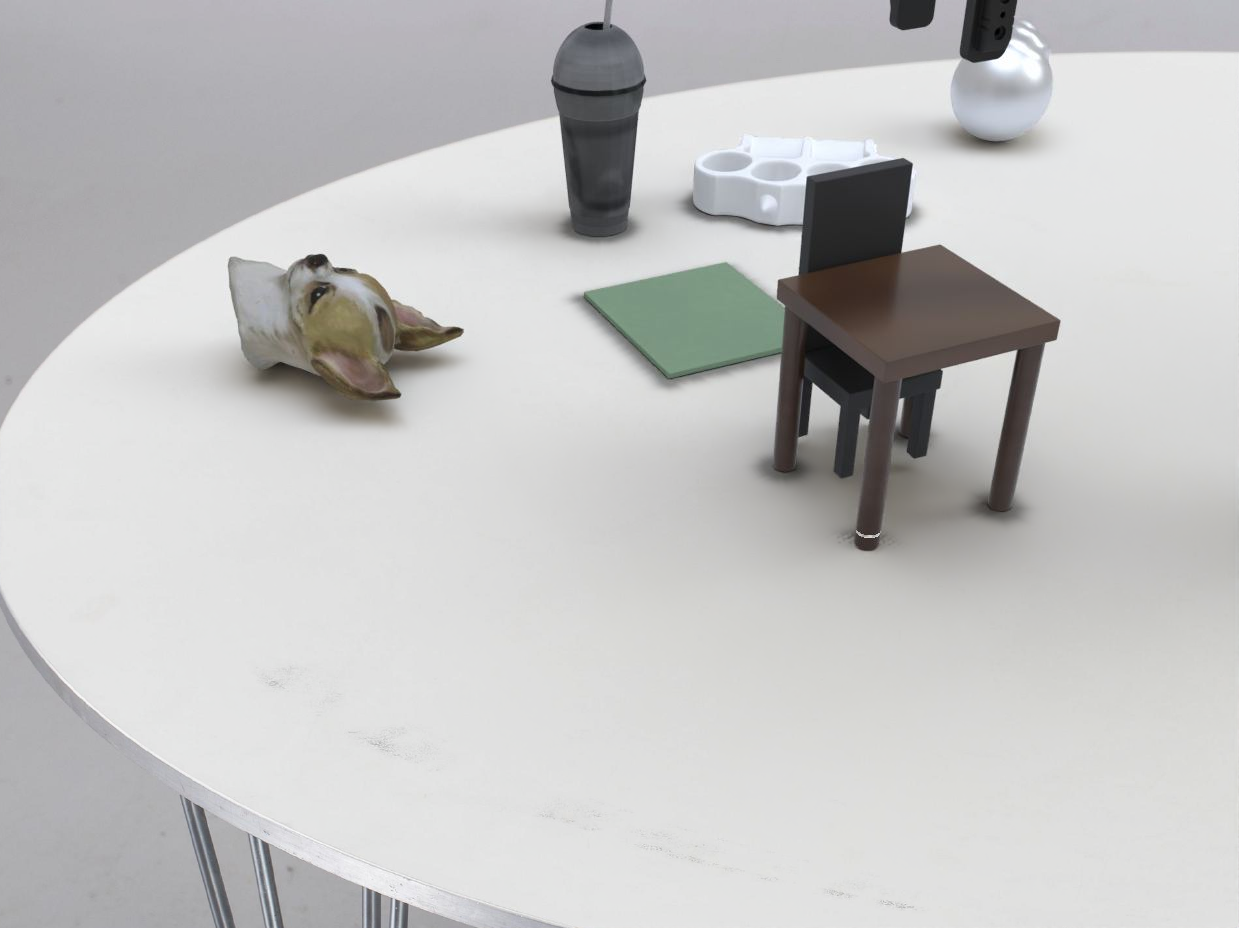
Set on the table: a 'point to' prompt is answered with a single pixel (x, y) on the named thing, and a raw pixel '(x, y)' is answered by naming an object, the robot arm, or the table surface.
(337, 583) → the table surface
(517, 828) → the table surface
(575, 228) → the beverage cup
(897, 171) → the chair
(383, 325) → the ceramic sculpture
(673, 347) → the mat
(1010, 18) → the robot arm
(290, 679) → the table surface
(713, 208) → the white brass knuckles
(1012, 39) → the white spiral shell
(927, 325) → the side table
